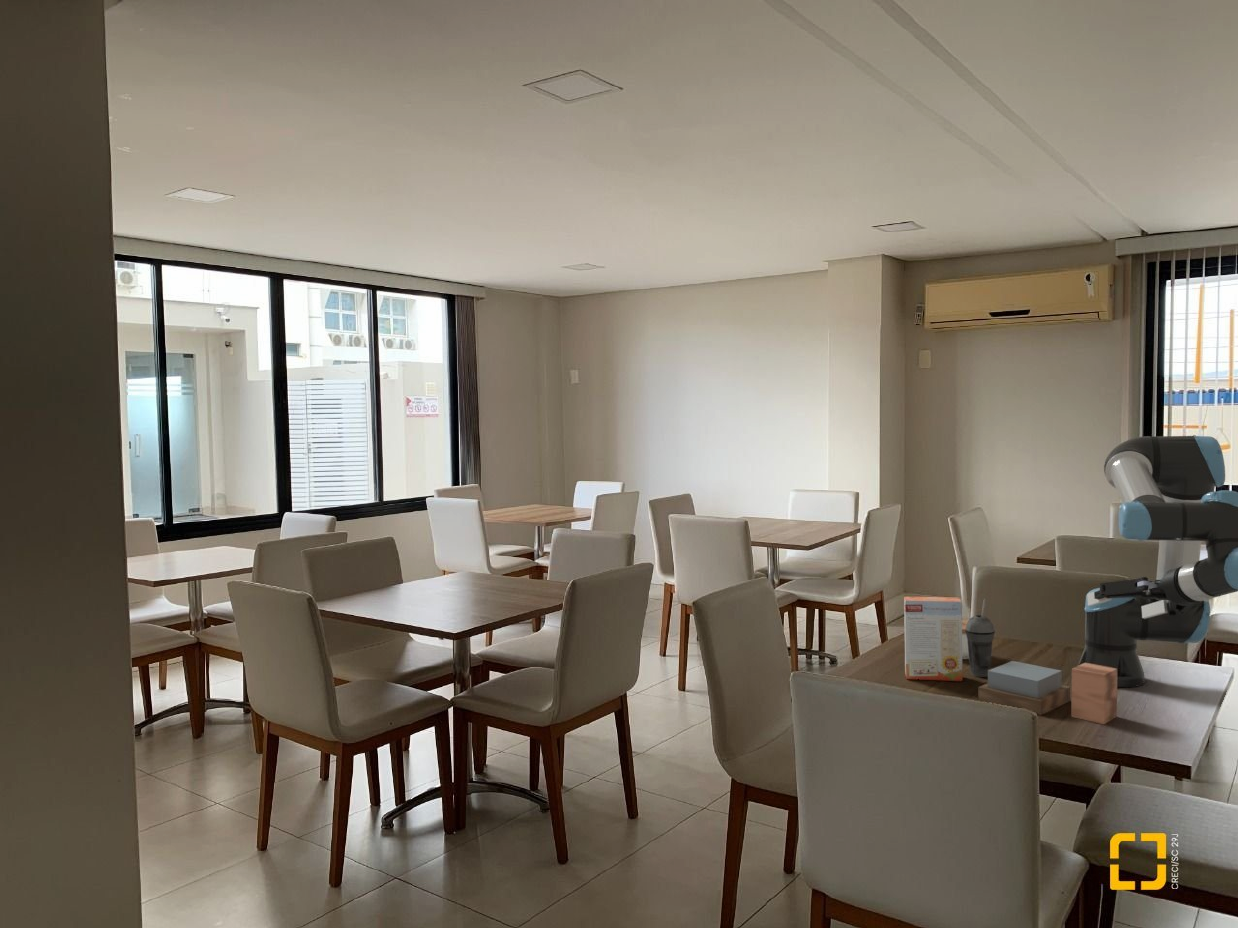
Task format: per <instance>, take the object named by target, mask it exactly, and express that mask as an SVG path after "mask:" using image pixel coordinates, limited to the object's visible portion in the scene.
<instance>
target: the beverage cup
mask: <svg viewBox="0 0 1238 928" xmlns="http://www.w3.org/2000/svg"><path fill="white" fill-rule="evenodd" d="M985 607H986V598H984V599H983V601H982V607H981V608H982V610H981V615H979V614H978V615H974V616H971V617H970V618H969V619H967V620H968V622H967V624H966V629H965V631H966V637H967V641H968V652H969V659H968V662H969V669H970V670H969V672H970V675H971V676H973V677H977V678H986V677H987V678H988V670H991V660H992V649H993V641H994V637H995V633H996V632H995V627H994V624H993V622H992V620H990V619H989V618H988V617H986V615H985Z"/></svg>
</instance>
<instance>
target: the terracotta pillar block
mask: <svg viewBox="0 0 1238 928" xmlns="http://www.w3.org/2000/svg"><path fill="white" fill-rule="evenodd" d="M1070 701H1071V702H1070V703H1071V711H1070V712H1071V713H1070V714H1071V718H1076V719H1079V720H1084V721H1089V722H1093V723H1097V724H1101V725H1105V724H1107V723H1108V722H1110V721H1112V720H1114V719H1115V718H1118V717H1117V716H1118V714H1117V713H1118V687H1117V668H1111V667H1106V666H1100V665H1095V664H1090V663H1083V664H1081V665H1079V666H1078V665H1077V666H1075V667H1072V668H1071V700H1070Z"/></svg>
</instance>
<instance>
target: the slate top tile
mask: <svg viewBox="0 0 1238 928" xmlns="http://www.w3.org/2000/svg"><path fill="white" fill-rule="evenodd" d="M1062 673H1063V671H1062V670H1061V669H1055V668H1050V667H1046V666H1040V665H1034V664H1030V663H1025V662H1019V661H1015V660H1011V661H1008V662H1006V663H1003V664H1001V665H999V666H995V667H993V668H990V670H988V676H987V683H988V687H989V688H994V689H998V690H1003V691H1007V692H1011V693H1016V694H1020V695H1025V696H1029V697H1034V698H1040V697H1042V696H1044V695H1046V694H1048V693H1050V692H1053V691H1055V690H1057V689H1059V688H1061V687H1062V685H1063V684H1062V677H1063V676H1062Z"/></svg>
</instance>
